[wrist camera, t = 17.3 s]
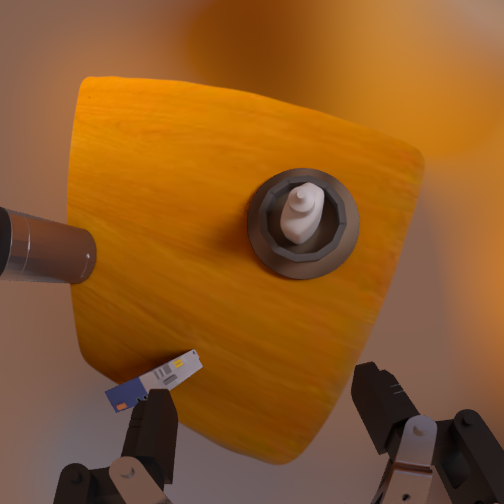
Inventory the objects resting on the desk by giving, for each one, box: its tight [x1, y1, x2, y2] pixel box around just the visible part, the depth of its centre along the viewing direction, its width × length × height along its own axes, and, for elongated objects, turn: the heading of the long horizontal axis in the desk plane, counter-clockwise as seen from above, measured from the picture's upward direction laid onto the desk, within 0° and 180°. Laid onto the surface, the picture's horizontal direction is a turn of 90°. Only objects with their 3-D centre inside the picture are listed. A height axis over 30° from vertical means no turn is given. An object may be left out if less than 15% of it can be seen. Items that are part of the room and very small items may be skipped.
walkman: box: [105, 349, 203, 413], centre depth 32 cm, size 8×3×12 cm, turn 119°
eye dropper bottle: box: [280, 182, 324, 245], centre depth 30 cm, size 4×6×12 cm
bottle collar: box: [247, 168, 360, 279], centre depth 35 cm, size 14×14×4 cm
